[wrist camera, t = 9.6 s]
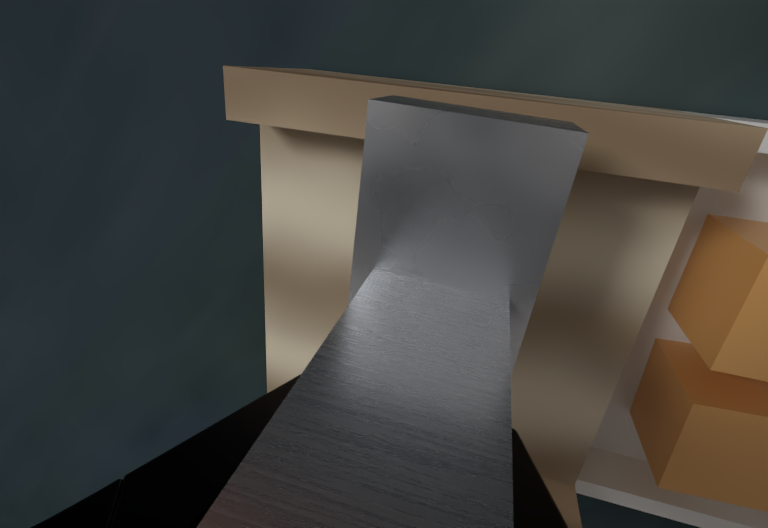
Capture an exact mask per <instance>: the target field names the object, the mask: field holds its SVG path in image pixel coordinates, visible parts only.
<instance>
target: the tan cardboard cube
mask: <svg viewBox="0 0 768 528" xmlns="http://www.w3.org/2000/svg"><path fill="white" fill-rule="evenodd" d="M668 311H669V312H670V313H671V315H672V316H673V318H674V319H675V321H676V322H677V323H678V325H679V326H680V328H681V329H682V331H683V332H684V333H685V335H686V336H687V338H688V339H689V341H690V342H691V343H692V345H693V346H694V348H695V349H696V351H697V352H698V353H699V355H700V356H701V358H702V359H703V361H704V362H705V363H706V365H707V366H708V368H709V369H710V370H713V371H718V372H723V373H727V374H732V375H737V376H742V377H747V378H752V379H756V380H761V381H766V382H768V222H761V221H754V220H747V219H740V218H733V217H726V216H719V215H712V214H708V215H707V217H706V220H705V222H704V224H703V227H702V229H701V231H700V234H699V236H698V238H697V241H696V243H695V245H694V248H693V250H692V252H691V255H690V257H689V259H688V262H687V264H686V266H685V269H684V271H683V273H682V276H681V278H680V280H679V283H678V285H677V287H676V290H675V292H674V295H673V297H672V299H671V302H670V304H669V306H668Z"/></svg>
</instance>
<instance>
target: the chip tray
mask: <svg viewBox="0 0 768 528" xmlns="http://www.w3.org/2000/svg"><path fill="white" fill-rule="evenodd" d="M676 111H677V110H676ZM682 112H686V111H682ZM687 113H692V114H697V115H702V116H707V117H712V118H717V119H723V120H728V121H733V122H738V123H743V124H748V125H753V126H758V127H764V128H768V121H767V120H758V119H749V118H740V117H731V116H722V115H713V114H704V113H695V112H687ZM708 214H712V215H719V216H726V217H733V218H740V219H747V220H754V221H761V222H768V130H767V132H766V134H765V137H764V139H763V141H762V143H761V145H760V147H759V150H758V152H757V154H756V156H755V158H754V160H753V163H752V165H751V167H750V169H749V171H748V173H747V176H746V178H745V180H744V182H743V184H742V186H741V189H740V191H739V192H734V191H727V190H720V189H713V188H706V187H700V188H699V190H698V192H697V195H696V197H695V200H694V202H693V204H692V207H691V209H690V211H689V214H688V216H687V219H686V221H685V223H684V226H683V228H682V231H681V233H680V235H679V238H678V240H677V242H676V245H675V247H674V250H673V252H672V254H671V257H670V259H669V261H668V264H667V266H666V269H665V271H664V273H663V276H662V278H661V281H660V283H659V285H658V288H657V290H656V292H655V295H654V297H653V300H652V302H651V304H650V307H649V309H648V312H647V314H646V316H645V319H644V321H643V323H642V326H641V328H640V331H639V333H638V335H637V338H636V340H635V343H634V345H633V347H632V350H631V352H630V354H629V357H628V359H627V362H626V364H625V366H624V369H623V371H622V374H621V376H620V378H619V381H618V383H617V385H616V388H615V390H614V393H613V395H612V397H611V400H610V402H609V404H608V407H607V409H606V412H605V414H604V416H603V419H602V421H601V424H600V426H599V428H598V431H597V433H596V435H595V438H594V440H593V443H592V445H591V447H590V450H589V452H588V455H587V457H586V459H585V462H584V464H583V466H582V469H581V471H580V474H579V476H578V478H577V481H576V483H575V490H576V493H579V494H582V495H586V496H590V497H593V498H597V499H600V500H604V501H607V502H611V503H615V504H618V505H622V506H625V507H629V508H632V509H636V510H640V511H643V512H647V513H650V514H654V515H657V516H661V517H665V518H668V519H672V520H675V521H679V522H683V523H686V524H690V525H693V526H697V527H700V528H768V512H765V511H760V510H756V509H751V508H747V507H742V506H738V505H733V504H729V503H724V502H720V501H715V500H711V499H706V498H702V497H697V496H693V495H688V494H684V493H679V492H675V491H670V490H666V489H661V488H658V487H657V485H656V482H655V479H654V477H653V474H652V471H651V469H650V466H649V463H648V460H647V458H646V455H645V452H644V450H643V447H642V444H641V442H640V439H639V436H638V434H637V431H636V428H635V426H634V423H633V420H632V418H631V415H630V409H631V406H632V403H633V401H634V398H635V395H636V392H637V389H638V386H639V383H640V381H641V378H642V375H643V372H644V369H645V366H646V364H647V361H648V358H649V355H650V352H651V349H652V346H653V344H654V341H655V338H659V339H665V340H672V341H679V342H685V343H691V342H690V341H689V339H688V338H687V336H686V335H685V333H684V332H683V331H682V329H681V328H680V326H679V325H678V323H677V322H676V321H675V319H674V318H673V316H672V315H671V313H670V312H669V311H668V306H669V304H670V302H671V299H672V297H673V295H674V292H675V290H676V287H677V285H678V283H679V280H680V278H681V276H682V273H683V271H684V269H685V266H686V264H687V262H688V259H689V257H690V255H691V252H692V250H693V248H694V245H695V243H696V241H697V238H698V236H699V234H700V231H701V229H702V227H703V224H704V222H705V220H706V217H707V215H708Z"/></svg>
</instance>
